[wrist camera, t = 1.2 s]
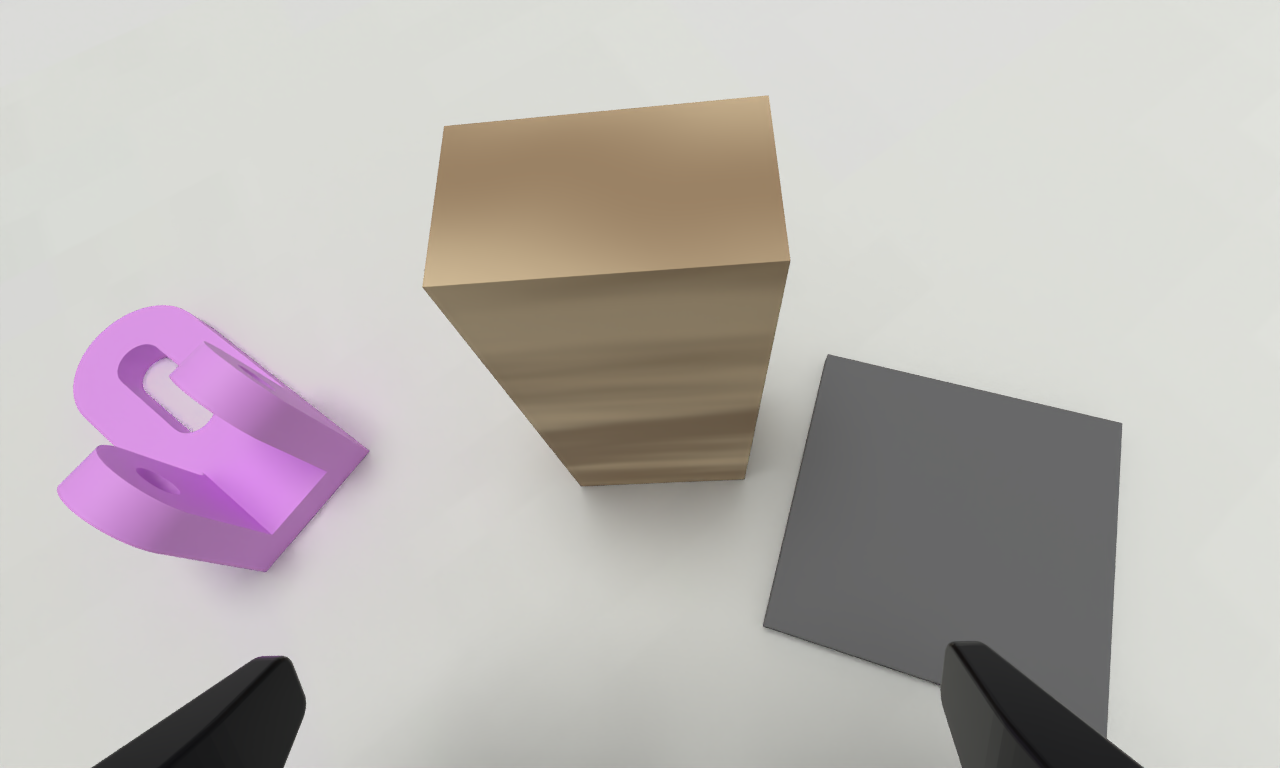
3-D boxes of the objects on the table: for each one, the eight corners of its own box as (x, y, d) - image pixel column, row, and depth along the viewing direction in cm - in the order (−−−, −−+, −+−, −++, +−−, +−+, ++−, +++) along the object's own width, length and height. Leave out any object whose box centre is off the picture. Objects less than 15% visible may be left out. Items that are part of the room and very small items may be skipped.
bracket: (371, 452, 25) (255, 384, 18) (268, 572, 23) (103, 544, 17) (177, 300, 29) (25, 201, 22) (78, 395, 27) (-114, 317, 21)
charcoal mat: (1094, 736, 19) (1106, 738, 18) (763, 625, 21) (764, 625, 20) (1112, 428, 22) (1122, 423, 22) (825, 360, 24) (828, 354, 24)
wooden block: (744, 479, 23) (790, 260, 10) (581, 486, 23) (422, 286, 10) (736, 389, 24) (768, 95, 11) (582, 398, 25) (444, 126, 12)
